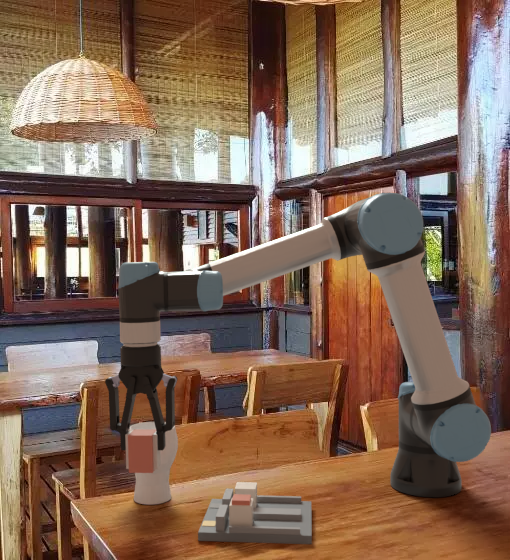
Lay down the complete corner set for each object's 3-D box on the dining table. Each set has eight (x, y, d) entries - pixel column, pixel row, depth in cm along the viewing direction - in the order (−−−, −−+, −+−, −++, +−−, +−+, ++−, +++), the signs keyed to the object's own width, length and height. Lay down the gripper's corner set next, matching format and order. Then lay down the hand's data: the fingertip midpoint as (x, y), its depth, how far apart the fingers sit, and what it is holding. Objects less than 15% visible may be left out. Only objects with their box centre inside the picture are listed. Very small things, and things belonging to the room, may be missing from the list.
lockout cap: (158, 465, 130) (157, 429, 130) (152, 472, 126) (151, 435, 125) (135, 465, 130) (134, 429, 130) (128, 472, 126) (127, 435, 126)
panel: (311, 508, 135) (311, 488, 135) (311, 544, 118) (311, 521, 118) (211, 506, 137) (211, 486, 137) (198, 540, 120) (198, 518, 120)
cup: (168, 509, 135) (168, 434, 135) (118, 505, 137) (117, 431, 137) (184, 491, 145) (184, 422, 145) (137, 488, 148) (137, 419, 147)
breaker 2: (253, 519, 125) (253, 494, 125) (251, 528, 121) (251, 501, 121) (231, 519, 125) (231, 493, 125) (229, 527, 121) (229, 501, 121)
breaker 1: (257, 502, 134) (257, 482, 134) (255, 509, 130) (255, 489, 130) (236, 501, 134) (236, 481, 134) (234, 509, 130) (234, 488, 130)
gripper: (190, 341, 130) (193, 461, 131) (100, 341, 132) (104, 460, 132) (182, 345, 123) (185, 473, 124) (88, 346, 124) (91, 473, 125)
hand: (143, 466), depth 128 cm, fingers closed on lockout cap, 4 cm apart
